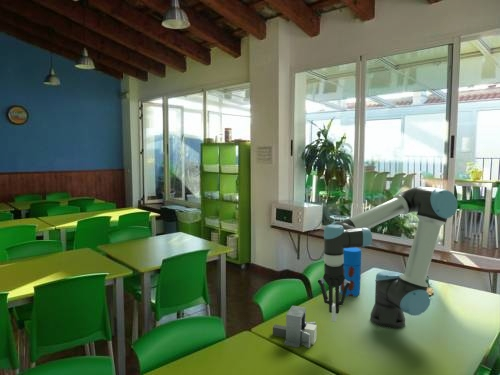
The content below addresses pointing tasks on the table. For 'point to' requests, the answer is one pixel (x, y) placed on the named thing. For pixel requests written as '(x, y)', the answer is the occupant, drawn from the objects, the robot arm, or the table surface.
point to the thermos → (352, 271)
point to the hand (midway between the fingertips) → (334, 320)
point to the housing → (297, 327)
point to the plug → (309, 328)
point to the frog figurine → (429, 287)
